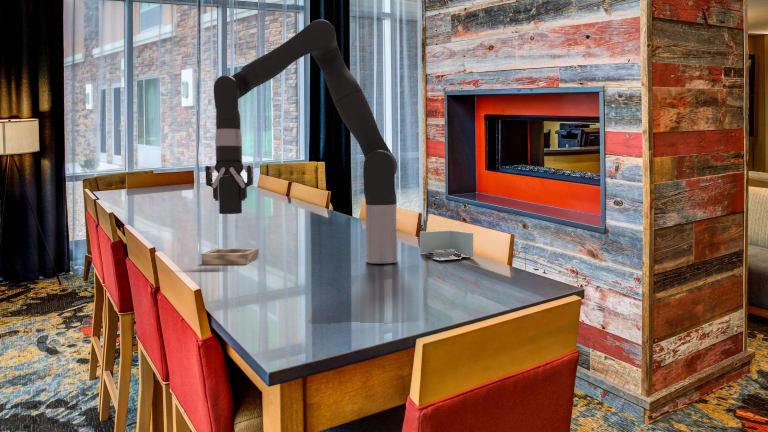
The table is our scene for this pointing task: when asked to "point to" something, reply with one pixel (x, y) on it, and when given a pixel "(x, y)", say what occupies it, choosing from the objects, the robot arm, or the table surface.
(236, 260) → the beige square frame
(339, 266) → the table surface
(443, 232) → the l-shaped corner panel
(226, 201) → the battery charger
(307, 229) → the table surface
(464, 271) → the table surface
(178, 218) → the table surface
